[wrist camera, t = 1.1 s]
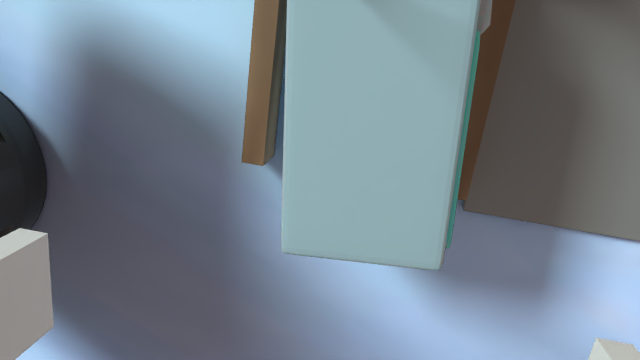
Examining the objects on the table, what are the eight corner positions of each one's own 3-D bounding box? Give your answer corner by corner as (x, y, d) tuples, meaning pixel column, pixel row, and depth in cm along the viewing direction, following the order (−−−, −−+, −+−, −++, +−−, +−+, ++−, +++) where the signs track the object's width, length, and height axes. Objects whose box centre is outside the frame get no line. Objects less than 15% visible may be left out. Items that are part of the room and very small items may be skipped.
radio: (440, 196, 33) (508, 408, 14) (316, 184, 34) (220, 366, 15) (473, -49, 28) (646, -242, 9) (327, -52, 29) (208, -231, 10)
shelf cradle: (254, 152, 34) (164, 223, 20) (279, -129, 28) (178, -282, 15) (459, 186, 32) (507, 288, 19) (528, -104, 26) (665, -250, 13)
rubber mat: (462, 207, 32) (463, 210, 32) (535, -93, 27) (538, -96, 26) (639, 238, 31) (644, 241, 31) (757, -70, 25) (765, -73, 25)
